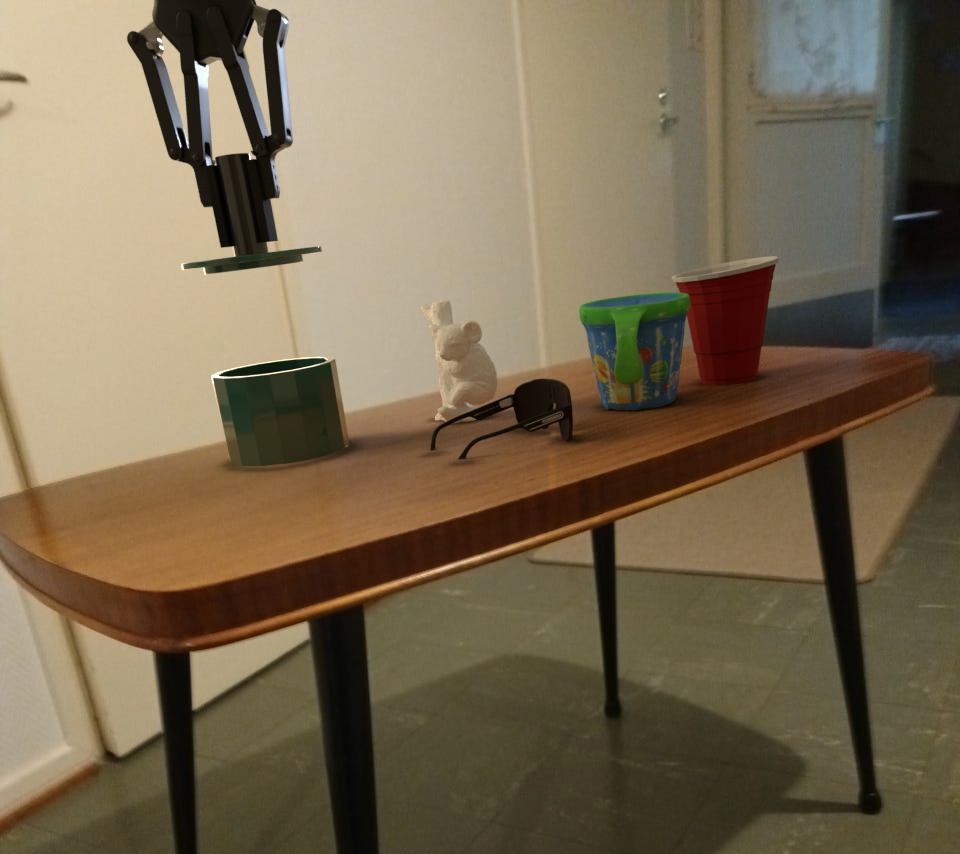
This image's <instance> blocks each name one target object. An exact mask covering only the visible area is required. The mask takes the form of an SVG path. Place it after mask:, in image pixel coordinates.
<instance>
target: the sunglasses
mask: <svg viewBox="0 0 960 854" xmlns="http://www.w3.org/2000/svg"><path fill="white" fill-rule="evenodd" d="M554 405H555V408H554ZM511 408H513V411H514V412H513V413H514V415H515V419H516V422H517V423H516V424H515V423H514V424H513V425H510V426H508V427H505V428H502V429H499V430H496V431H493V432H490V433H487V434H483V435H481V436H478V437H476V438H474V439H473V440H471V441H470V442H469V443H468V444H467V445H466V447H465V448H464V449H463V451H462V453H461V454H460V455H459V457H457V458H458V459H457V460H466V459H467V455H468V454H469V452H470V450H471V449H472V448H473V447H474V446H475V445H476V444H478V443H479V442H481V441H484V440H488V439H491V438H494V437H497V436H501V435H504V434H507V433H510V432H512V431H516V430H518V429H522V430H525V431H527V432H530V433H532V432H536V431H538V430H547V429H549V426H551V425H554V424H557V423H558V426H559V431H560V436H561V438H562V439H563V440H564V441H567V442H570V441H572V439H573V432H574V428H573V427H574V415H573V402H572V395H571V390H570V388H569V387H568V385H567V384H566V383H565V382H563V381H561V380H558V379H555V378H544V377H543V378H542V377H541V378H534V379H532V380H530V381H527V382H523V383H521V384H520V385H518V386H517V387H516V388H515V389H514V392H513V393H511V394H508V395H506V396H504V397H501V398H499V399H496V400H493V401H492V402H489V403H486V404H483V405H482V406H479V407H478V408H477V409H474V410H472V411H469V412H467V413H464V414H462V415H459V416H457V417H455V418H453V419H451V420H449V421H447V422H445V421H444V422H443V423H441V424H439V425H438V426H437V427H436V428H435V429H434V430H433V433H432V436H431V440H430V451H432V452H433V451H435V450H436V442H437V438H438V437H437V436H438V434H439V433H440V432H441V430H443V429H444V428H447V427H448V426H450V425H453V424H452V423H454V422H457V421H459V420H461V419H464V418H467V417H472V418H474V419H477V420H476V421H482V420H484V419H487V418H489V417H492V416H494V415H496V414H499V413H501V412H503V411H506V410H509V409H511Z"/></svg>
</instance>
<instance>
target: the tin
mask: <svg viewBox="0 0 960 854" xmlns="http://www.w3.org/2000/svg"><path fill="white" fill-rule="evenodd" d="M338 373H339V372H338V367H337V360H336V358H333V357H332V356H310V357H297V358H296V357H295V358H287V359H280V360H272V361H266V362H259V363H253V364H248V365H243V366H238V367H232V368H230V369H226V370H222V371H218V372H216V373H214V374H212V375H211V376H210V377H211V382H212V387H213V391H214V396H215V401H216V406H217V410H218V415H219V418H220V424H221V428H222V433H223V437H224V441H225V442H224V443H225V447H226V452H227V456H228V460H229V462H230V464H231V465H236V466H241V467H264V466H275V465H285V464H292V463H296V462H301V461H307V460H313V459H316V458H320V457H325V456H327V455H332V454H334V453H336V452H338V451H341V450H343V449H345V448H350V439H349V433H348V426H347V421H346V420H347V419H346V415H345V409H344V403H343V396H342V392H341V386H340V379H339V374H338Z"/></svg>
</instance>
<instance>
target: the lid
mask: <svg viewBox="0 0 960 854" xmlns="http://www.w3.org/2000/svg"><path fill="white" fill-rule="evenodd" d="M251 159H252V156H251V154H250V153H249V152H239V153H229V154H222V155H218V156H215V157H214V160H215V165H216V166H217V171H218V176H219V181H220V186H221V191H222V196H223V201H224V206H225V211H226V216H227V221H228V226H229V230H230V235H231V240H232V245H233V247H232V250H233V255H234V256H229V257H222V258H215V259H214V258H213V259H207V260H199V261H193V262H185V263H181V264H180V266H181V270H182V271H186V270H187V271H188V270H194V269H195V270H196V269H200V268H201V269H203V274H204V275H205V276H206V275H214V274H222V273H229V272H237V271H245V270H253V269H254V270H255V269H260V268H269V267H275V266H276V267H277V266H282V265H283V266H284V265H290V264H296V263H297V264H298V263H303V262H304V257H303V255H309V254H310V255H311V254H319V253H322V252H323V248H322V245H319V246H309V247H300V248H293V249H285V250H277V251H270V250H269V247H268V242H261V237H260V232H259V227H258V221H257V216H256V211H255V206H254V200H253V195H252V190H251V184H250V179H249V174H248V169H247V163H246V160H251Z"/></svg>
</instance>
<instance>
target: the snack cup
mask: <svg viewBox="0 0 960 854" xmlns="http://www.w3.org/2000/svg"><path fill="white" fill-rule="evenodd" d="M689 309H690V299H689V294H686V293H680V292H653V293H642V294H633V295H631V294H630V295H624V296H617V297H608V298H602V299H598V300H593V301H589V302H585V303H583V304H580V306H579V320H580V323H581V324H582V326H583V327H584V330H585V332H586V339H587V340H586V341H587V345H588V350H589V354H590V355H589V356H590V360H591V365H592V369H593V373H594V378H595V383H596V387H597V392H598V396H599V398H600V402H601V404H602V405H603V407H604V409H605V410H607V411H611V410H615V411H619V412H633V411H634V412H635V411H643V410H652V409H658V408H661V407H665V406H669V405H671V404H673V402H674V401H675V400H676V398H677V395H678V389H679V381H680V372H681V364H682V356H683V349H684V348H683V346H684V339H685V327H686V320H687V315H688V311H689Z"/></svg>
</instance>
